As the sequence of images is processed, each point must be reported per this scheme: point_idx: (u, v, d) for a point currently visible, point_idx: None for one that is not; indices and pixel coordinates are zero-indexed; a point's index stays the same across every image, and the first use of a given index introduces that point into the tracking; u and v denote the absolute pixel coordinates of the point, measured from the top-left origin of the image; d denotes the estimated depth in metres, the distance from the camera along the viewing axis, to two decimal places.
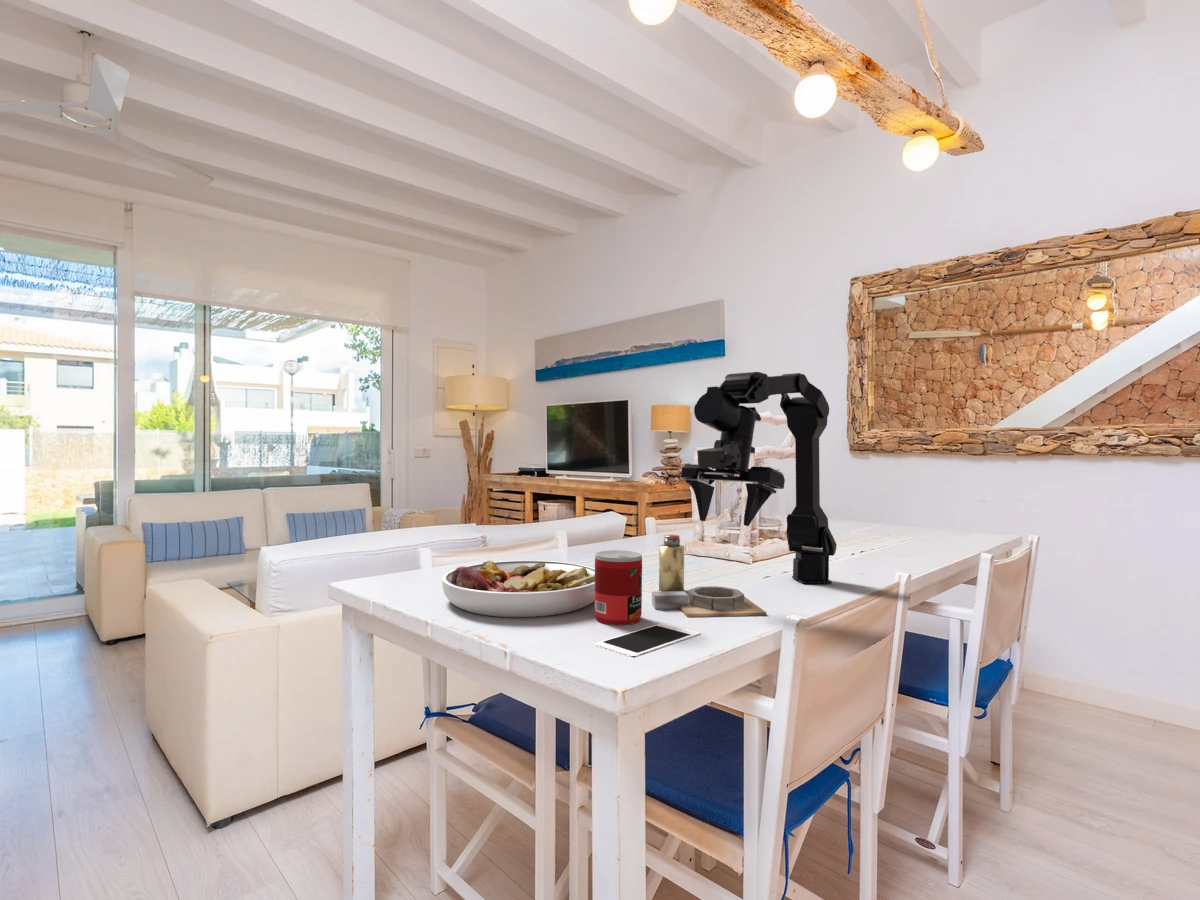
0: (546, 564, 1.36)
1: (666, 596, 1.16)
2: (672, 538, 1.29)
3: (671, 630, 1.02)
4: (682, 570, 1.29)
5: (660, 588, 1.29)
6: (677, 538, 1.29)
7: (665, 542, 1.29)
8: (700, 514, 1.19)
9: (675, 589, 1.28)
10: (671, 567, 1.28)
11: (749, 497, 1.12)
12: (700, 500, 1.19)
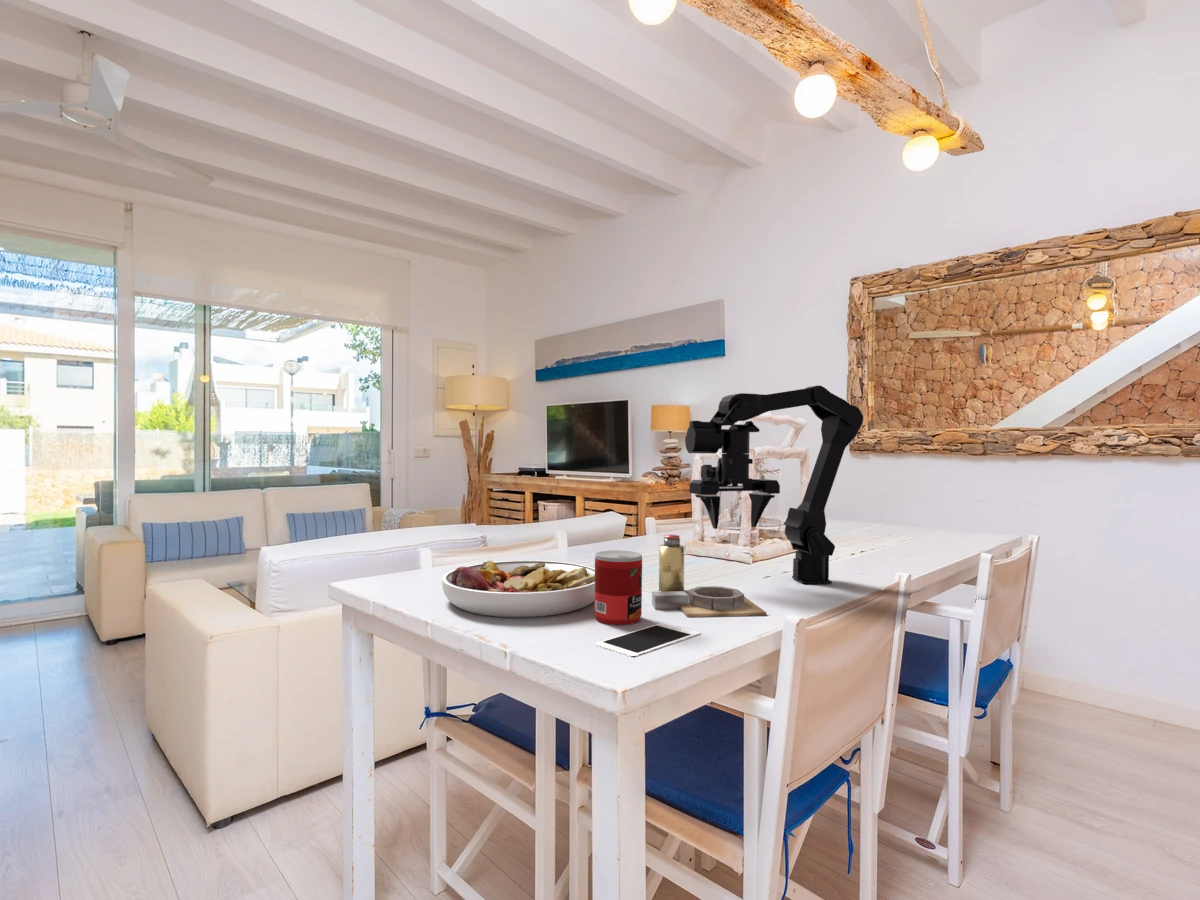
0: (546, 564, 1.36)
1: (666, 596, 1.16)
2: (672, 538, 1.29)
3: (671, 630, 1.02)
4: (682, 570, 1.29)
5: (660, 588, 1.29)
6: (677, 538, 1.29)
7: (665, 542, 1.29)
8: None
9: (675, 589, 1.28)
10: (671, 567, 1.28)
11: None
12: None
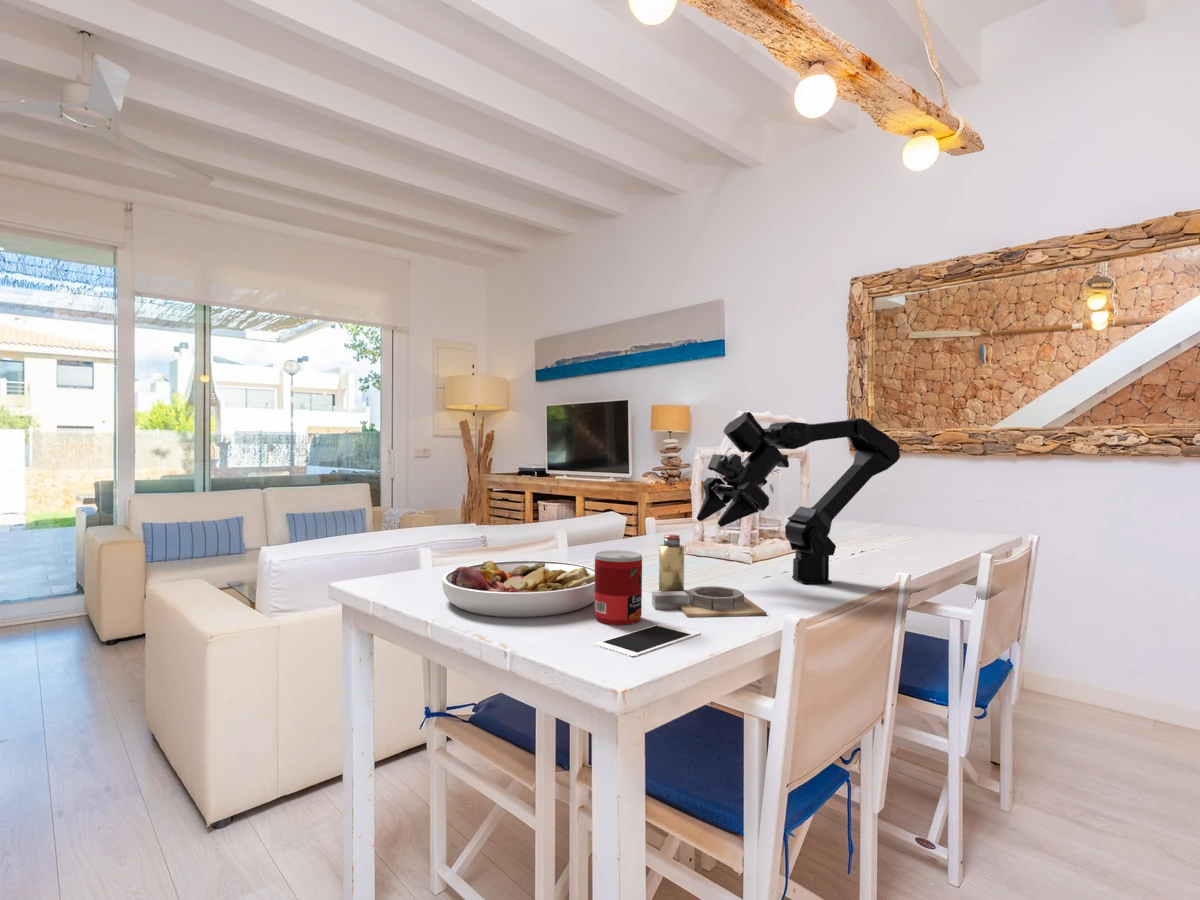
0: (546, 564, 1.36)
1: (666, 596, 1.16)
2: (672, 538, 1.29)
3: (671, 630, 1.02)
4: (682, 570, 1.29)
5: (660, 588, 1.29)
6: (677, 538, 1.29)
7: (665, 542, 1.29)
8: (699, 513, 1.37)
9: (675, 589, 1.28)
10: (671, 567, 1.28)
11: (731, 503, 1.28)
12: (704, 503, 1.38)
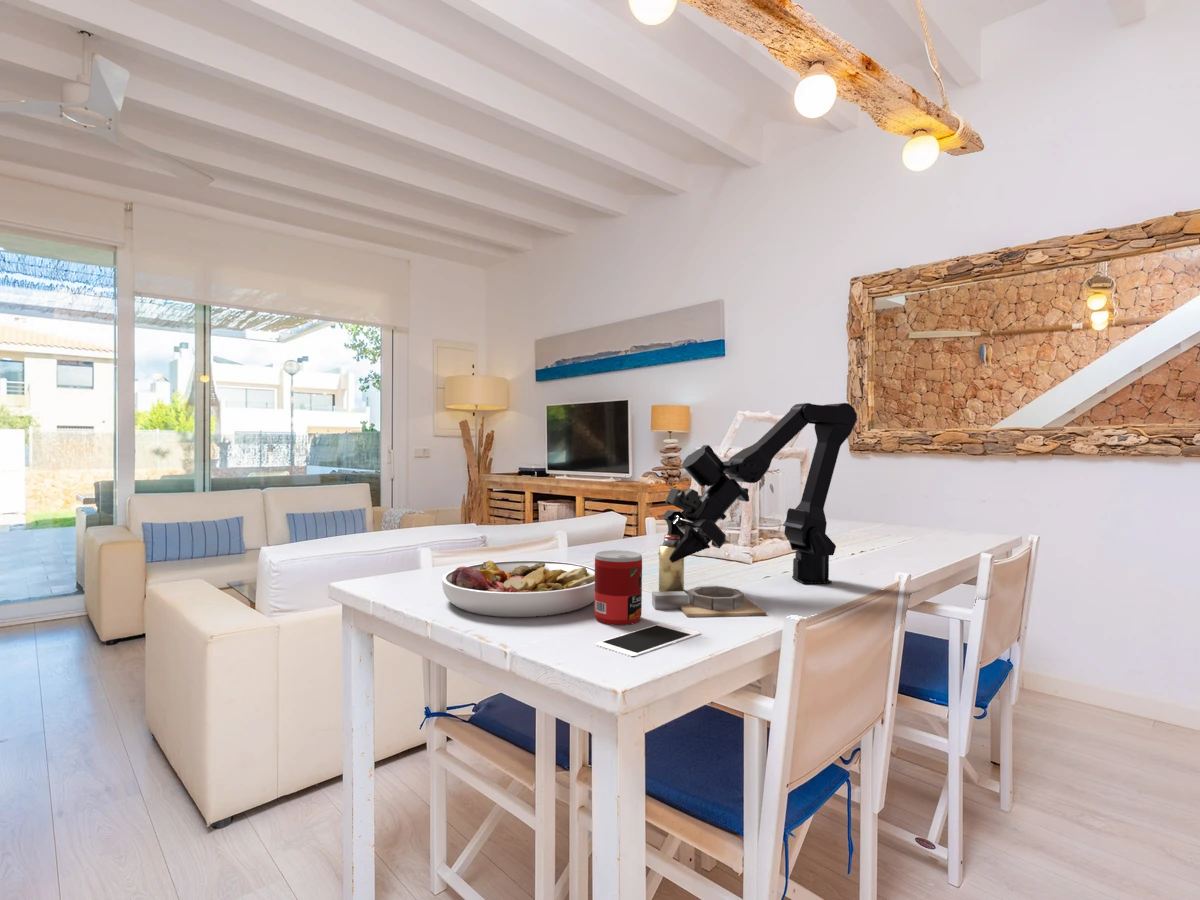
0: (546, 564, 1.36)
1: (666, 596, 1.16)
2: (672, 538, 1.29)
3: (671, 630, 1.02)
4: (682, 570, 1.29)
5: (660, 588, 1.29)
6: (677, 538, 1.29)
7: (665, 542, 1.29)
8: None
9: (675, 589, 1.28)
10: (671, 567, 1.28)
11: (683, 538, 1.27)
12: None
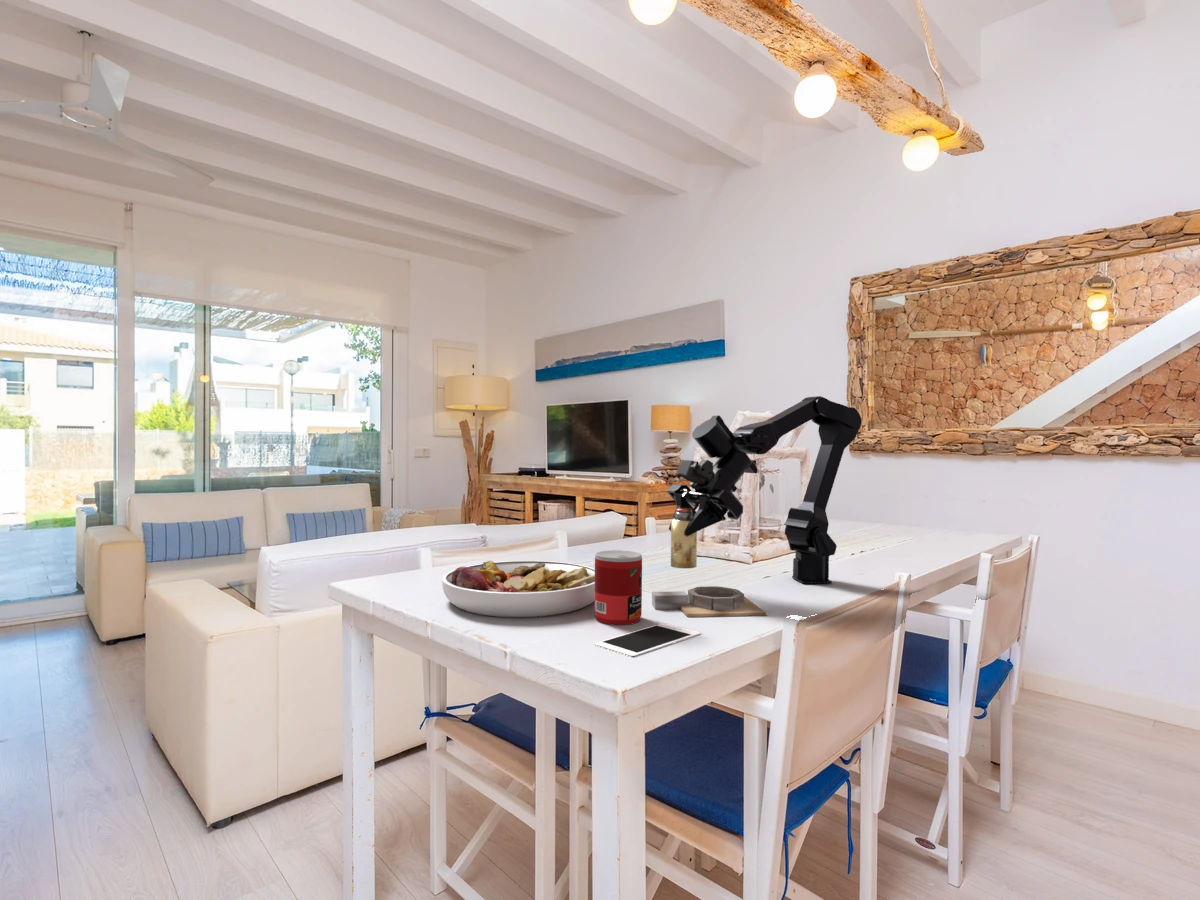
0: (546, 564, 1.36)
1: (666, 596, 1.16)
2: (685, 511, 1.24)
3: (671, 630, 1.02)
4: (695, 544, 1.25)
5: (674, 563, 1.24)
6: (690, 511, 1.25)
7: (678, 515, 1.25)
8: None
9: (689, 563, 1.24)
10: (685, 540, 1.23)
11: (698, 511, 1.23)
12: None
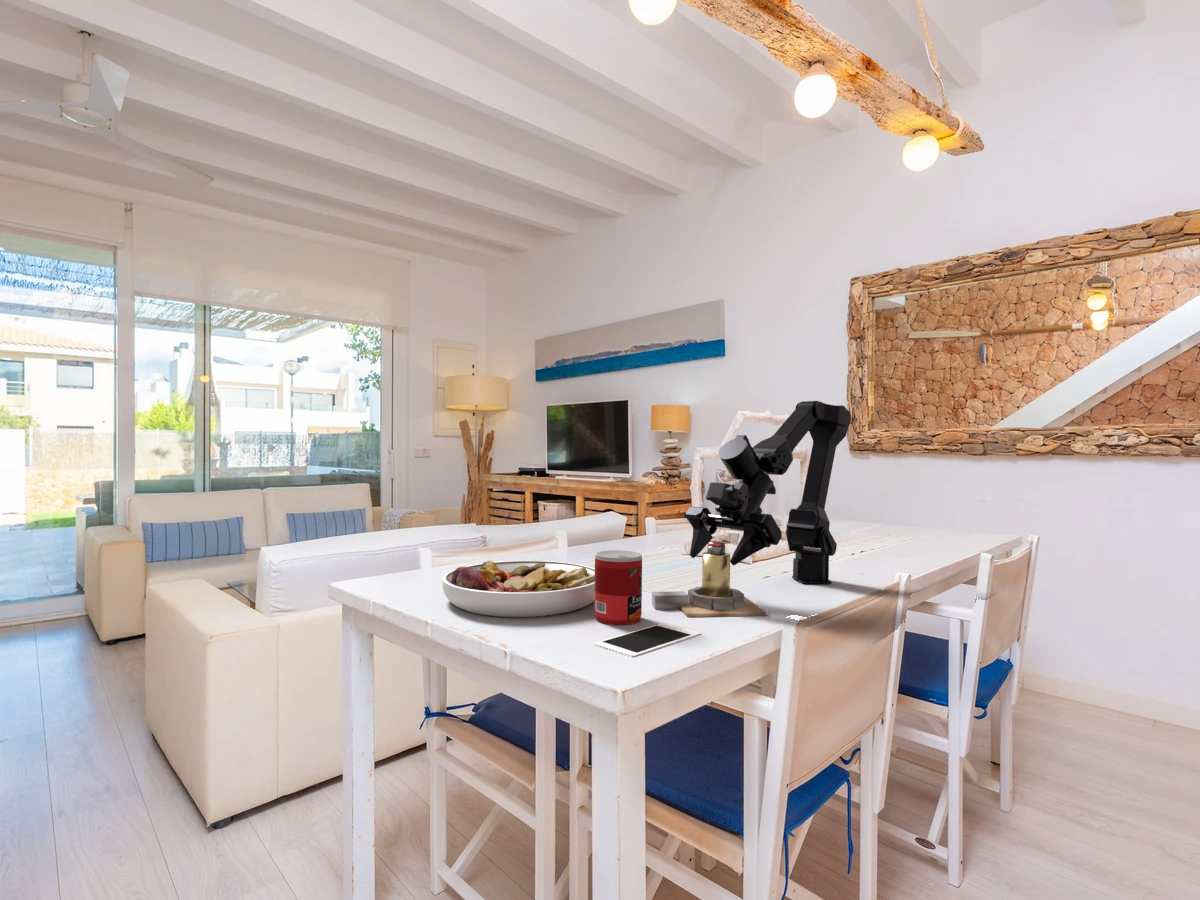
0: (546, 564, 1.36)
1: (666, 596, 1.16)
2: (720, 545, 1.17)
3: (671, 630, 1.02)
4: (729, 579, 1.18)
5: None
6: (724, 545, 1.18)
7: (712, 550, 1.17)
8: (692, 549, 1.21)
9: None
10: (722, 577, 1.16)
11: (743, 538, 1.15)
12: (696, 537, 1.22)
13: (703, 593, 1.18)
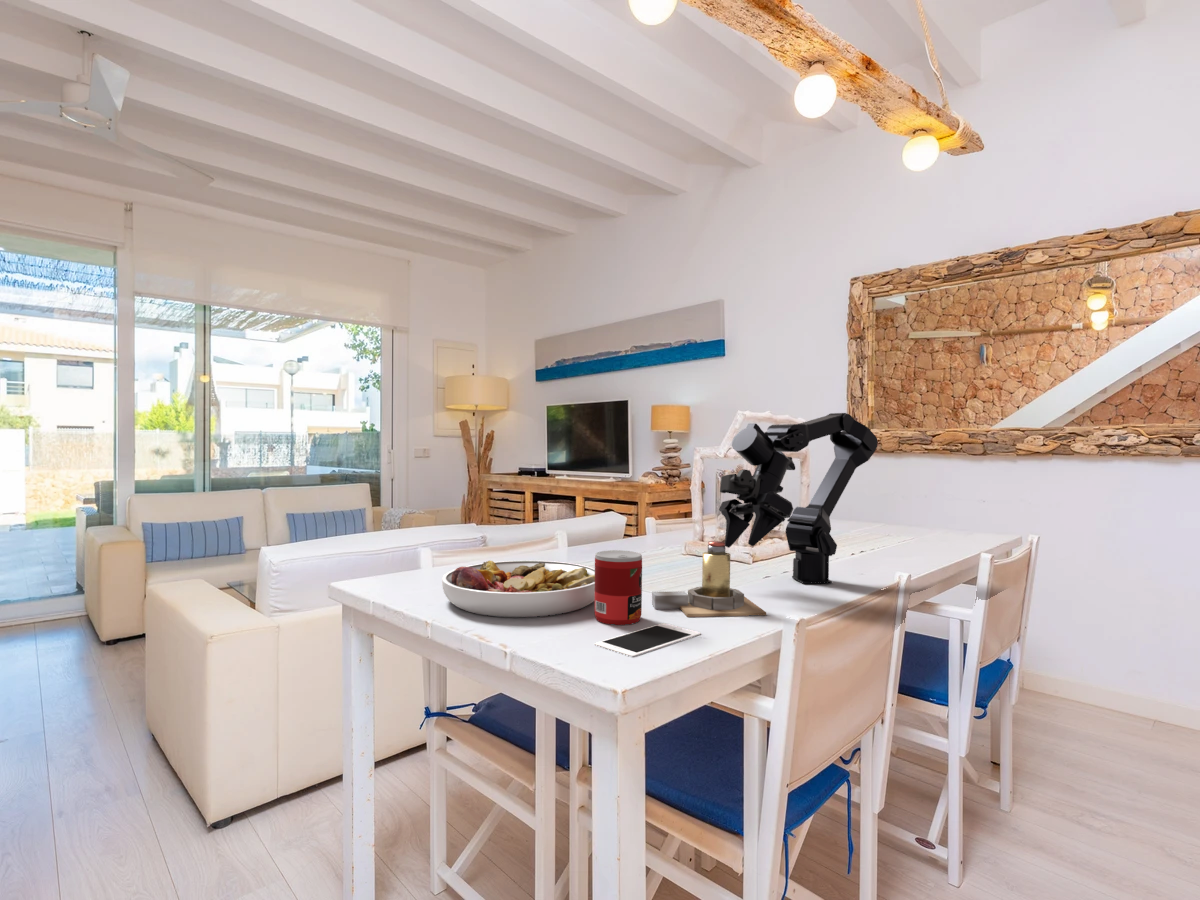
0: (546, 564, 1.36)
1: (666, 596, 1.16)
2: (721, 545, 1.17)
3: (671, 630, 1.02)
4: (729, 579, 1.18)
5: None
6: (724, 544, 1.18)
7: (712, 550, 1.17)
8: (725, 540, 1.32)
9: None
10: (722, 576, 1.16)
11: (756, 519, 1.24)
12: (728, 528, 1.33)
13: (703, 593, 1.18)
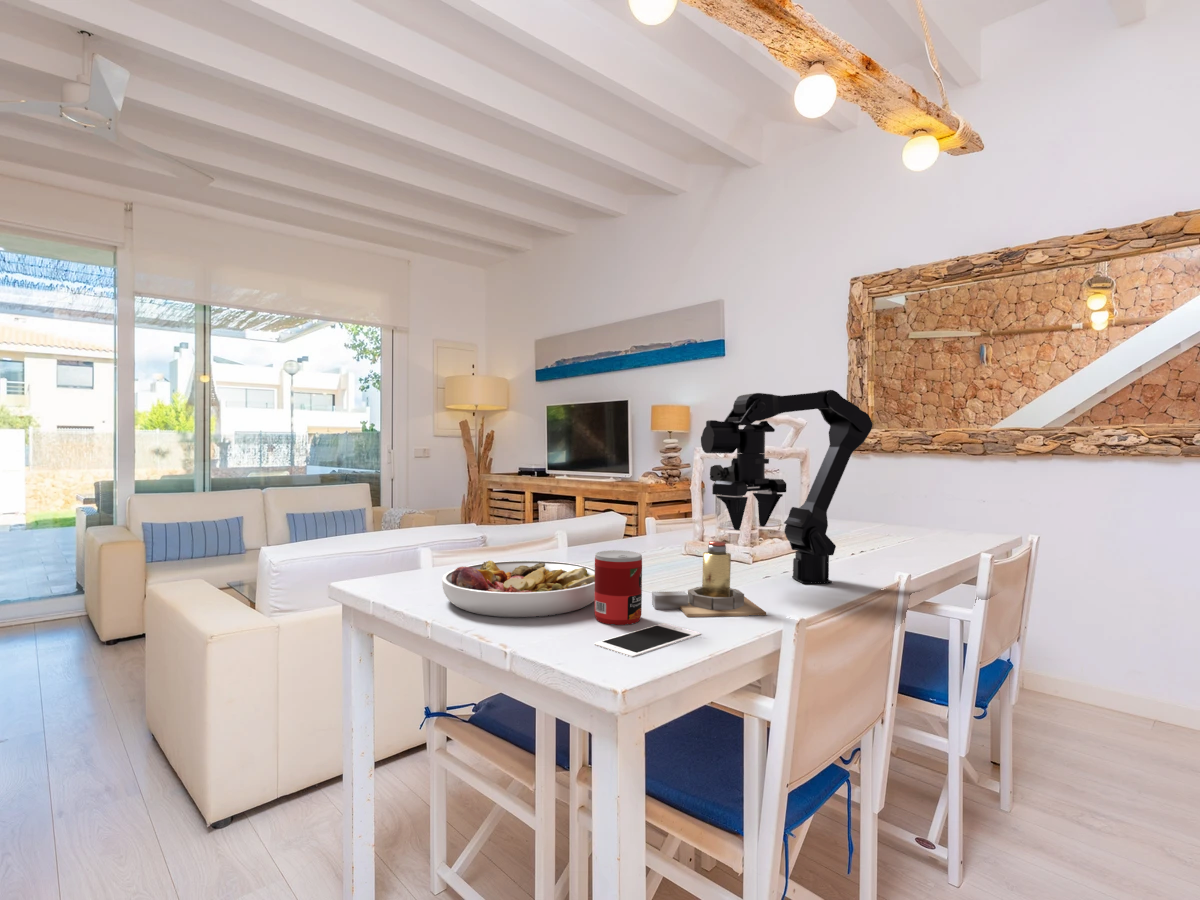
0: (546, 564, 1.36)
1: (666, 596, 1.16)
2: (721, 545, 1.17)
3: (672, 630, 1.02)
4: None
5: None
6: None
7: (713, 549, 1.17)
8: None
9: None
10: (723, 576, 1.16)
11: None
12: None
13: (703, 593, 1.18)
